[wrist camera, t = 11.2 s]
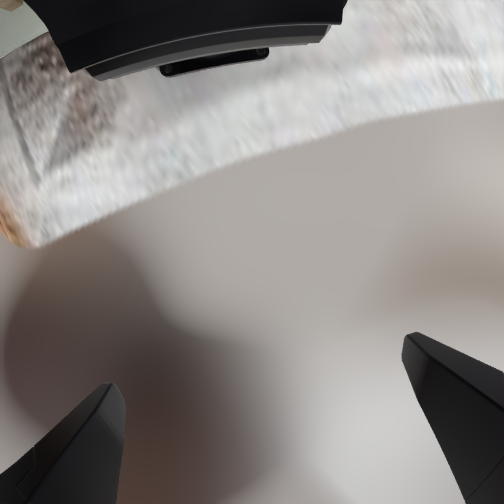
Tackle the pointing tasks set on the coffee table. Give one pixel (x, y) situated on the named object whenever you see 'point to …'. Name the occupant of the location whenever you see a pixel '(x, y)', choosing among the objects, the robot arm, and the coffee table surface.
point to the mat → (18, 28)
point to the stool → (10, 4)
